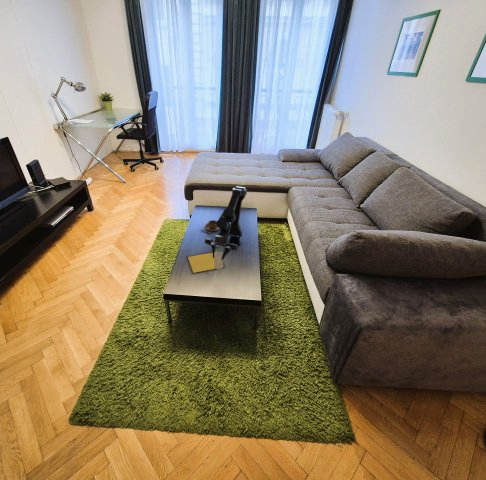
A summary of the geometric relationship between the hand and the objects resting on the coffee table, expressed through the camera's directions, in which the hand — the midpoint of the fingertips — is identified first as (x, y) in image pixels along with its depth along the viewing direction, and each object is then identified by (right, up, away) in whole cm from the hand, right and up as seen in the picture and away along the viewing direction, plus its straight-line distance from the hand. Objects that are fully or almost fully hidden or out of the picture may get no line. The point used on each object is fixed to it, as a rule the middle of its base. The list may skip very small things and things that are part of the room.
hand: (217, 259), depth 149 cm
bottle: (0, -5, +5) cm, 7 cm away
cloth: (-8, -3, +15) cm, 18 cm away
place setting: (-1, +18, +48) cm, 52 cm away
